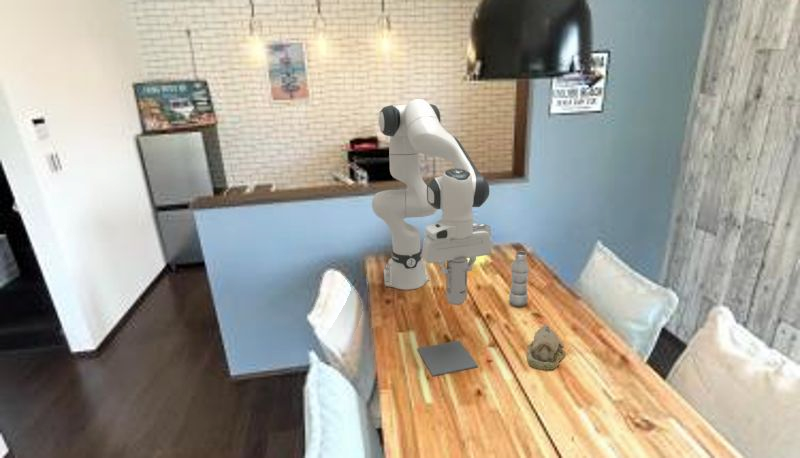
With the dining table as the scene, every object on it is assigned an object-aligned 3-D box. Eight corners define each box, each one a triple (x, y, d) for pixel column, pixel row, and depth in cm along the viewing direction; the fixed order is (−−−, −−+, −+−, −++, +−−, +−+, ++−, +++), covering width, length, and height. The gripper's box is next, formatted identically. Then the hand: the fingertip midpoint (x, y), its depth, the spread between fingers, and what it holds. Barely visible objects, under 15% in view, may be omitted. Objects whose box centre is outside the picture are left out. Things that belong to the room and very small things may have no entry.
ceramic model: (528, 341, 146) (530, 313, 143) (566, 347, 142) (568, 319, 139) (522, 366, 134) (524, 336, 131) (563, 374, 130) (566, 344, 127)
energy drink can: (465, 307, 134) (466, 260, 129) (444, 304, 136) (445, 258, 131) (467, 297, 140) (469, 251, 135) (447, 295, 141) (448, 250, 136)
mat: (417, 349, 143) (417, 348, 143) (459, 341, 147) (459, 340, 147) (432, 376, 130) (432, 375, 130) (478, 367, 134) (478, 365, 134)
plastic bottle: (531, 306, 167) (534, 254, 161) (515, 309, 165) (518, 258, 158) (520, 298, 173) (523, 248, 166) (505, 302, 170) (507, 251, 164)
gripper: (485, 220, 136) (484, 263, 140) (419, 228, 130) (420, 273, 135) (495, 226, 130) (494, 271, 134) (427, 234, 125) (428, 281, 129)
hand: (456, 272), depth 135 cm, fingers closed on energy drink can, 6 cm apart
